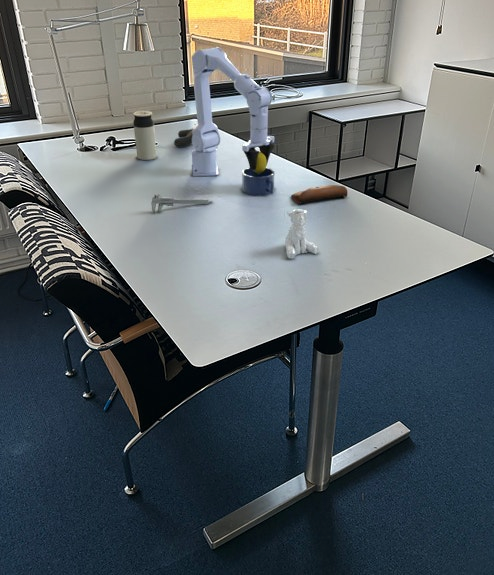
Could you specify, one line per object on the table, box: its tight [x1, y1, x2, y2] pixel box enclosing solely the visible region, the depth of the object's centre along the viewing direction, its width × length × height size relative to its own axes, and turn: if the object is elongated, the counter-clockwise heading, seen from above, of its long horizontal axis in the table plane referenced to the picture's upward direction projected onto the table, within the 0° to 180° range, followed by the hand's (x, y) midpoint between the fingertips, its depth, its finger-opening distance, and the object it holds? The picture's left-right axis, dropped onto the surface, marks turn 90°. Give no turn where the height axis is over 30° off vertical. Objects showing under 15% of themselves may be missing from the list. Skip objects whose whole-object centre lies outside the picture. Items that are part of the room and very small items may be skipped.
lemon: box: [253, 151, 268, 174], centre depth 181 cm, size 6×6×8 cm
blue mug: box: [241, 166, 275, 196], centre depth 184 cm, size 14×11×6 cm
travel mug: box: [132, 110, 158, 161], centre depth 213 cm, size 8×8×18 cm
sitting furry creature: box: [284, 208, 319, 260], centre depth 144 cm, size 10×9×12 cm
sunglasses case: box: [291, 184, 348, 205], centre depth 179 cm, size 18×7×7 cm
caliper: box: [151, 193, 213, 214], centre depth 171 cm, size 20×1×6 cm, turn 116°
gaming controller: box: [173, 127, 195, 148], centre depth 234 cm, size 17×6×10 cm
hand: (258, 167), depth 182 cm, fingers closed on lemon, 5 cm apart
